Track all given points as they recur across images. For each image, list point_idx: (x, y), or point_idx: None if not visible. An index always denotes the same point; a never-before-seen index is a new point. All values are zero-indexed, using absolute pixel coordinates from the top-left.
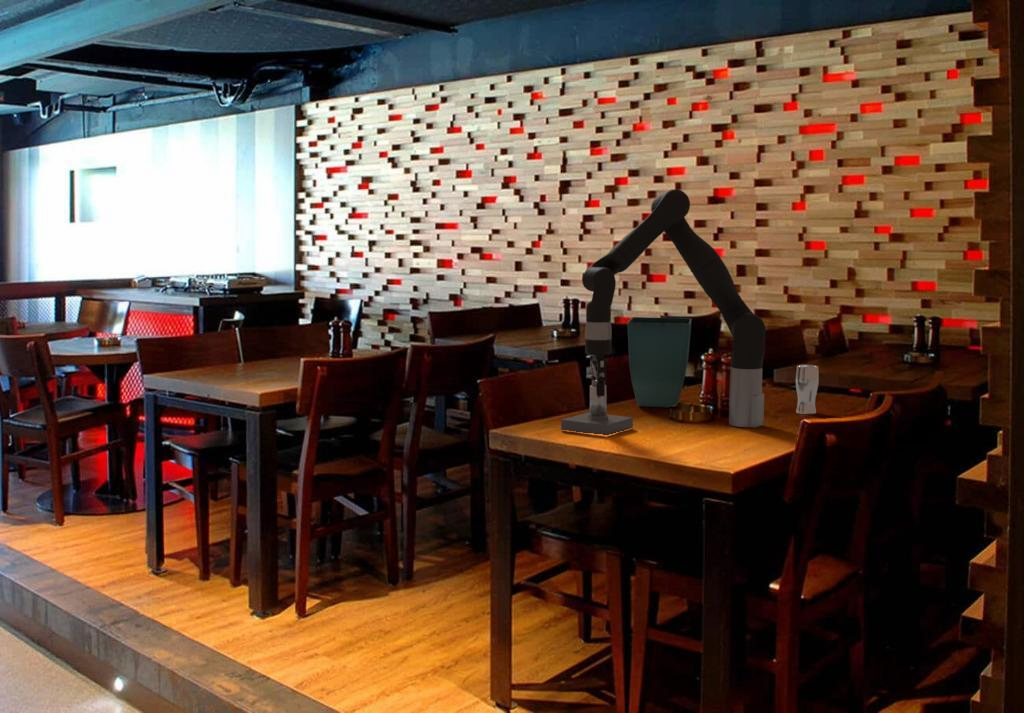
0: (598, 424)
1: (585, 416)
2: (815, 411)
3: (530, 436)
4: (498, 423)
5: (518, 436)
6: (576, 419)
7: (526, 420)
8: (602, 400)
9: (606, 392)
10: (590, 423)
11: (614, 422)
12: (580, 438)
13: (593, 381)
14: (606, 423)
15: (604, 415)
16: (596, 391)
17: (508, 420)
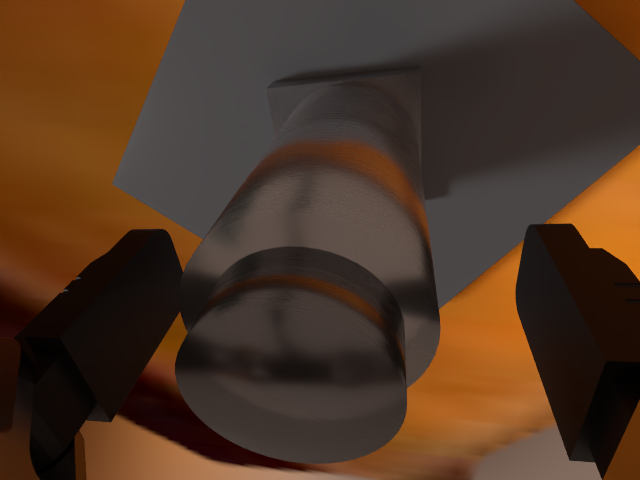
0: (610, 167)
1: None
2: None
3: (496, 416)
4: (227, 457)
5: (487, 446)
6: None
7: (145, 385)
8: (421, 186)
9: (349, 170)
10: (548, 217)
11: (565, 16)
12: (612, 243)
13: (355, 452)
14: (594, 98)
15: (400, 107)
16: (536, 342)
17: (162, 429)
